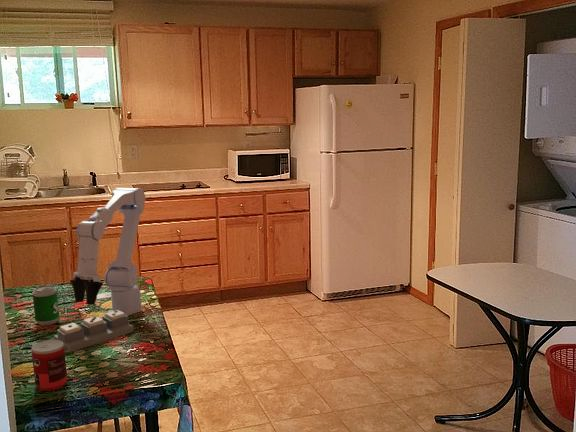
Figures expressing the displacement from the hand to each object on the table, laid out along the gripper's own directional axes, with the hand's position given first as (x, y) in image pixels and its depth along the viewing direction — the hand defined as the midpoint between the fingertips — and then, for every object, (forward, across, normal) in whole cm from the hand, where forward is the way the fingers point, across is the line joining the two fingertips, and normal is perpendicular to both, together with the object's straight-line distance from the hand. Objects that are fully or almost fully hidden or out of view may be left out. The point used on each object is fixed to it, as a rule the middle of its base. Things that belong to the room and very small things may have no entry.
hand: (84, 303), depth 183 cm
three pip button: (+7, +1, +3) cm, 8 cm away
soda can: (+9, -23, -1) cm, 25 cm away
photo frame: (0, -37, +29) cm, 47 cm away
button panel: (+11, 0, +4) cm, 11 cm away
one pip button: (+9, 0, -4) cm, 10 cm away
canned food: (+19, +21, -18) cm, 33 cm away
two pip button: (+5, +1, +10) cm, 12 cm away
